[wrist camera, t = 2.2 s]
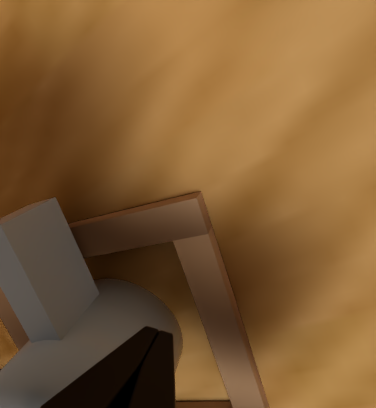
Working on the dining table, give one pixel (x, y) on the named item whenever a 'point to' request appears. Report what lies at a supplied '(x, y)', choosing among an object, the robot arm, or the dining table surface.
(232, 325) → the frame
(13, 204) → the dining table surface
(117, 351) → the robot arm
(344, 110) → the dining table surface
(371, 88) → the dining table surface
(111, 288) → the jug
